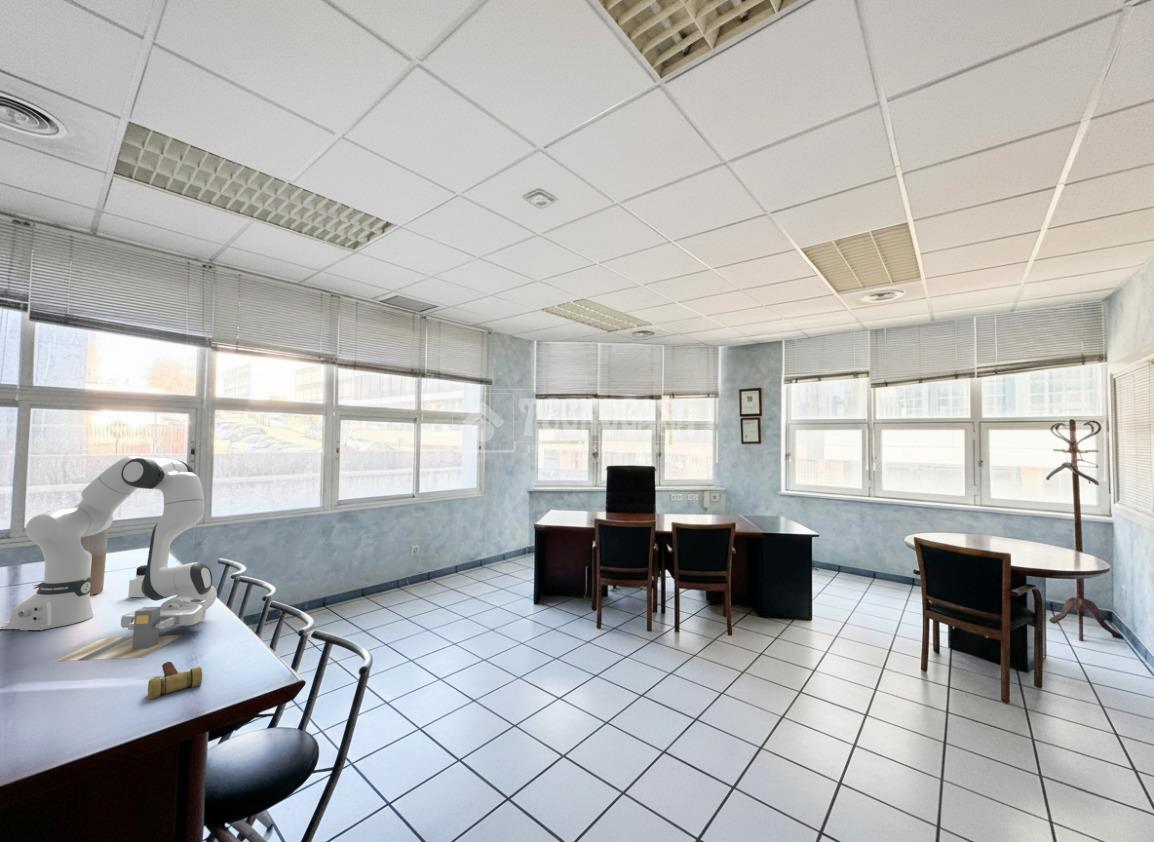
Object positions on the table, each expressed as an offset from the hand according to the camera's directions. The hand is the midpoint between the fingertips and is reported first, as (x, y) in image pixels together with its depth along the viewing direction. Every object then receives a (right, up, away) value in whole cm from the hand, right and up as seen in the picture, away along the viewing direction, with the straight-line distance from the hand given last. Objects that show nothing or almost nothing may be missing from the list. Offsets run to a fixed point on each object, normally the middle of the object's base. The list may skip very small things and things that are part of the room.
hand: (144, 626), depth 139 cm
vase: (-72, -10, +52) cm, 89 cm away
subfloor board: (-6, -7, -1) cm, 10 cm away
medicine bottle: (-48, -10, +51) cm, 71 cm away
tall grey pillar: (0, -6, 0) cm, 6 cm away
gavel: (+21, -8, -15) cm, 27 cm away
